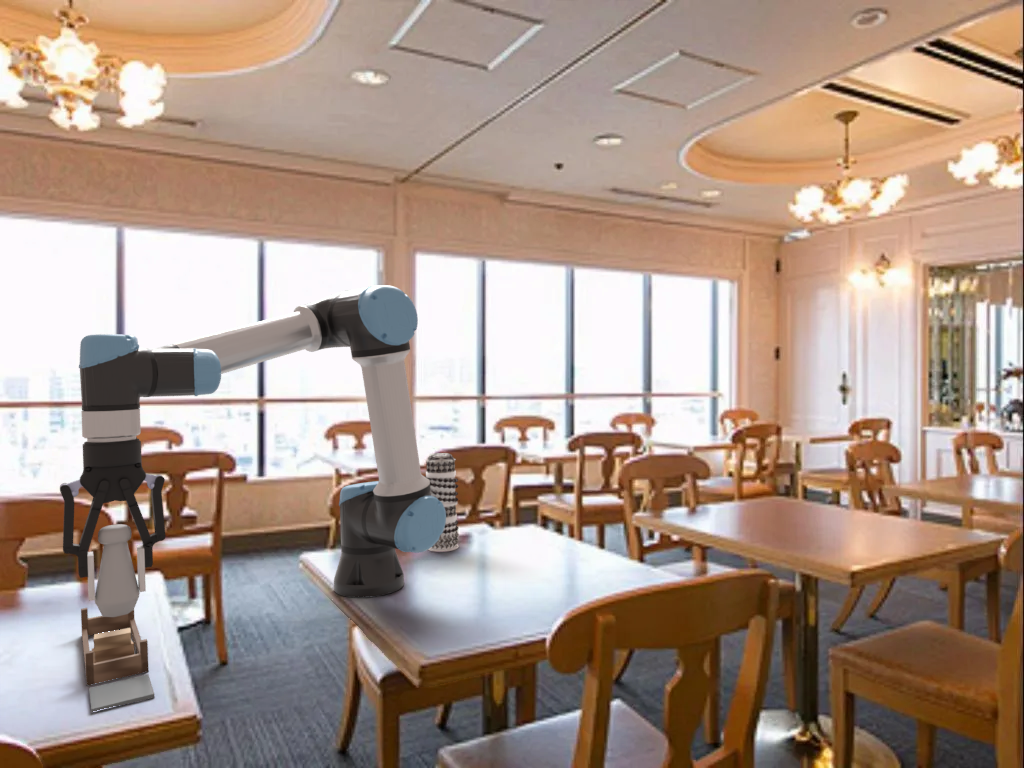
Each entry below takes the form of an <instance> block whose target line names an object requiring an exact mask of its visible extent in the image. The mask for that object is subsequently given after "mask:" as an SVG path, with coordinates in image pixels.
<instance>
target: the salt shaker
mask: <svg viewBox="0 0 1024 768" xmlns="http://www.w3.org/2000/svg"><path fill="white" fill-rule="evenodd" d="M131 538H132V528H131V527H130V526H129V525H127V524H122V523H120V524H119V523H117V524H111V525H106V526H103V527H101V528H100V529H99V530H98V532H97V540H98V543H100V544H101V545H103V548H102V554H101V560H100V564H99V565H100V566H99V571H98V577H97V583H96V587H95V600H94V604H95V605H96V606H97V609H98V611H99V612H100V614H101V616H103V617H117V616H121V615H126V614H128V613H130V612H131V611H133V610H134V611H135V607H136V604H137V602H138V600H139V597H140V593H141V592H140V591H139V588H138V579H137V577H136V573H135V568H134V564H133V561H132V555H131V552H130V549H129V543H128V541H130V540H131Z"/></svg>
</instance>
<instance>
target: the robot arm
mask: <svg viewBox="0 0 1024 768" xmlns="http://www.w3.org/2000/svg"><path fill="white" fill-rule="evenodd" d="M418 317H419V316H418V313H417V309H416V306H415V304H414V302H413V300H412V299H411V298H410V297H409V295H408V294H406V293H405V292H404V291H403V290H402V289H400V288H399V287H396V286H393V285H387V284H386V285H378V284H377V285H376V284H374V285H372V286H368V287H367V286H366V287H362V288H361V287H360V288H356V289H349V290H342V291H339V292H337V293H334V294H331V295H329V296H326V297H324V298H321V299H319V300H315V301H313V302H309V303H307V304H303V305H299V306H296V307H295V309H294V310H293V312H292V313H288V314H285V315H280V316H277V317H272V318H268V319H264V320H261V321H257V322H254V323H248V324H245V325H241V326H237V327H233V328H230V329H225V330H221V331H218V332H217V331H216V332H215V333H209V334H206V335H203V336H198V337H194V338H190V339H187V340H183V341H179V342H174V343H172V344H169V345H168V344H167V345H164V346H160V347H156V348H144V347H140V345H139V341H138V338H137V337H136V336H135V335H134V334H133V335H131V334H119V333H118V334H108V333H106V334H102V333H100V334H89V335H85V336H84V337H83V338H82V339H81V341H80V344H79V345H80V347H79V365H78V369H79V375H80V376H79V377H80V393H81V395H80V396H81V433H82V434H81V435H82V437H83V438H84V439H86V440H87V441H84V443H83V444H82V463H83V464H82V466H83V468H82V469H83V471H82V473H81V475H80V477H79V479H77V480H74V481H71V482H68V483H67V482H64V483H61V484H60V486H59V491H60V494H61V497H62V499H63V501H64V503H63V533H62V552H63V553H64V554H67V555H68V554H69V555H75V556H76V557H77V568H78V569H77V571H78V572H77V573H78V576H79V578H80V579H83V578H87V594H88V601H89V602H91V601H95V593H96V587H95V584H96V583H95V562H94V561H95V559H94V558H95V557H94V551H89V550H90V547H91V543H92V539H93V536H94V533H95V530H96V527H97V523H98V520H99V518H100V514H101V511H102V508H103V505H104V504H109V503H111V502H114V501H115V502H126V504H127V506H128V509H129V512H130V515H131V518H132V520H133V522H134V525H135V526H136V529H137V532H138V535H139V537H140V540H141V542H142V544H139V545H136V551H137V552H136V553H137V556H136V557H137V561H136V562H137V584H138V588H139V592H140V593H142V592H146V591H147V590H146V587H147V586H146V585H147V584H146V568H147V569H148V568H153V567H152V566H153V564H154V555H153V554H154V553H153V549H154V548H153V547H154V545H155V544H156V543H159V542H161V541H165V539H166V536H167V535H166V526H165V525H166V524H165V515H164V507H163V506H164V503H163V497H162V496H163V494H162V491H163V488H164V485H165V480H166V479H165V477H163V475H161V474H149V473H146V471H145V470H144V468H143V464H142V463H143V461H142V441H141V440H140V438H138V437H137V436H139V435H140V434H141V432H142V429H141V409H140V408H141V404H140V400H141V398H151V397H152V398H154V397H185V396H186V397H189V396H194V397H198V396H203V395H211V394H213V393H215V392H216V391H217V390H218V389H219V387H220V385H221V381H222V375H223V374H225V373H226V374H227V373H229V372H232V371H233V372H234V371H237V370H239V369H243V368H247V367H250V366H252V365H256V364H260V363H263V362H267V361H270V360H273V359H276V358H280V357H284V356H286V355H289V354H293V353H296V352H300V351H303V350H306V351H307V352H311V353H313V352H317V351H319V350H325V349H330V348H348V347H349V348H350V352H351V353H350V354H351V359H352V360H353V361H354V362H355V363H357V364H359V365H360V367H361V372H362V378H363V379H362V380H363V386H364V391H365V398H366V399H365V400H366V404H367V405H366V407H367V412H368V418H369V424H370V431H371V436H372V437H371V438H372V443H373V444H372V445H373V450H374V456H375V462H376V463H375V464H376V470H377V475H378V480H376V481H368V482H366V481H365V482H361V483H354V484H353V483H352V484H349V485H345V486H344V487H342V488H341V490H340V493H339V502H338V506H339V517H340V518H339V519H340V525H339V526H340V546H341V548H340V557H339V561H338V564H337V568H336V572H335V574H334V579H333V590H334V592H335V594H337V595H339V596H343V597H348V598H373V597H379V596H385V595H389V594H392V593H394V592H395V593H396V592H397V591H399V590H400V589H402V588H403V587H404V586H405V574H404V570H403V568H402V566H401V563H400V560H399V557H398V554H397V552H396V551H397V550H399V551H401V552H403V553H412V554H413V553H415V554H419V553H423V552H426V551H429V550H428V549H430V548H431V547H432V546H433V545H434V544H435V543H436V542H437V541H438V540H439V537H440V535H441V534H442V533H443V530H444V527H445V523H446V511H445V508H444V505H443V504H442V502H441V501H439V500H438V499H437V498H436V497H433V496H432V493H431V487H430V481H429V480H428V479H427V478H426V477H424V476H425V475H423V474H422V471H421V464H420V459H419V458H420V457H419V456H420V455H419V450H418V445H417V439H416V436H417V435H416V431H415V424H414V423H415V422H414V417H413V411H412V404H411V396H410V391H409V390H410V389H409V382H408V378H407V377H408V376H407V371H406V363H405V359H406V358H407V356H408V354H409V353H410V352H411V345H410V340H411V339H412V338H413V337H414V335H415V331H416V330H418V329H417V328H418V324H419V323H418V320H419V319H418ZM144 481H145V482H146V485H147V488H148V489H149V490H150V496H151V498H150V499H151V507H152V519H153V528H154V532H153V533H150V532H149V528H148V527H147V524H146V522H145V519H144V517H143V513H142V512H141V509H140V507H139V506H140V505H139V504H138V501H137V498H136V496H135V494H136V493H137V491H138V489H139V488H140V486H141V485H143V482H144ZM82 487H83V488H84V489H85V491H87V492H88V494H89V495H91V497H92V500H91V504H90V509H89V510H88V514H87V518H86V520H85V524H84V527H83V530H82V534H81V536H80V539H79V543H74V527H75V497H77V496H78V495H79V490H80V489H81V488H82Z"/></svg>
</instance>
